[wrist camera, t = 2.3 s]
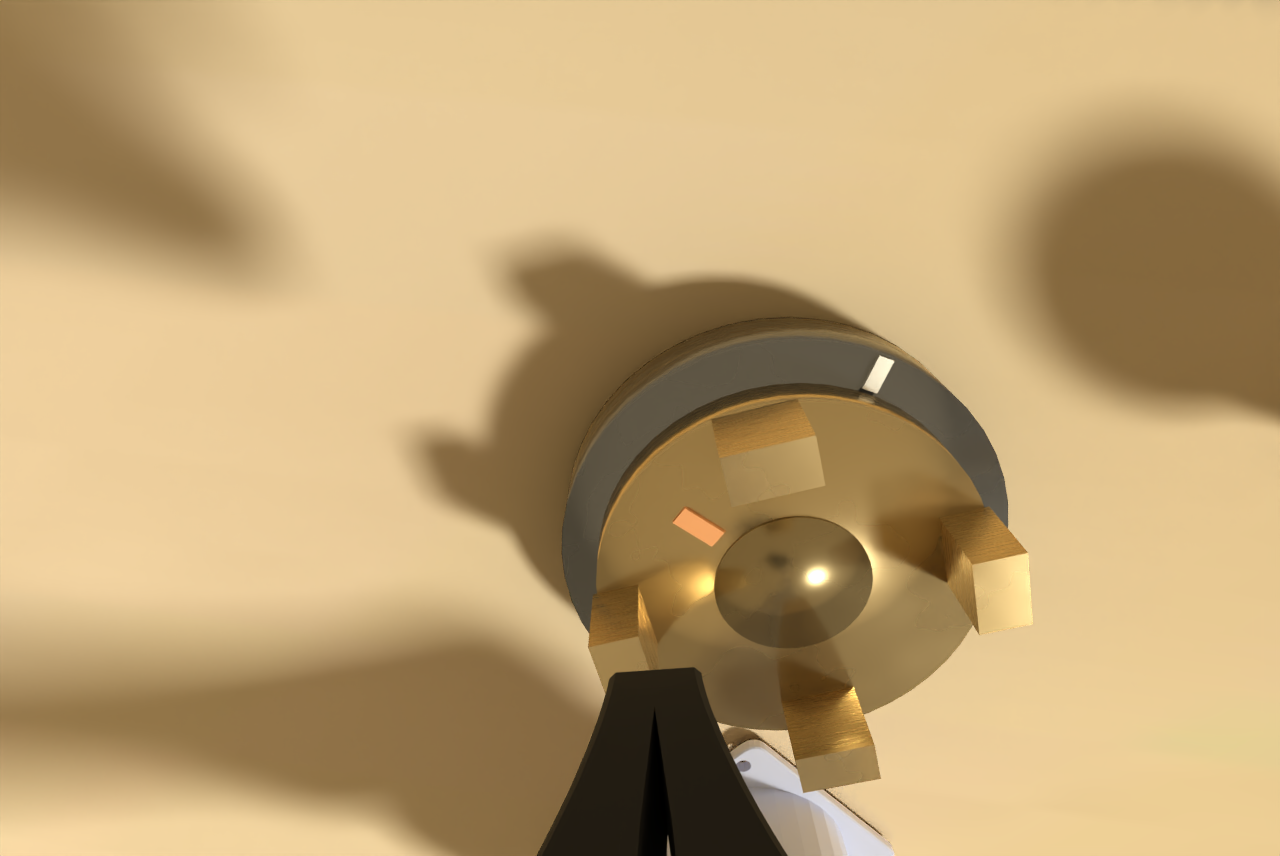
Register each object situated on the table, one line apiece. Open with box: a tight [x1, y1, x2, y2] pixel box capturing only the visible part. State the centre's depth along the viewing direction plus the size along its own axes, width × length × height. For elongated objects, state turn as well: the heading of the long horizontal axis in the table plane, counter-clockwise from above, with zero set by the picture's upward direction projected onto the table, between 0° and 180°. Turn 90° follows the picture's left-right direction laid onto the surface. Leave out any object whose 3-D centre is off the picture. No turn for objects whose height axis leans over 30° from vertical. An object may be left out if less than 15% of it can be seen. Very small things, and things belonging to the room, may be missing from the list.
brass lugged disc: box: [588, 383, 1033, 793], centre depth 19 cm, size 10×10×3 cm
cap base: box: [562, 317, 1008, 633], centre depth 21 cm, size 12×12×2 cm
